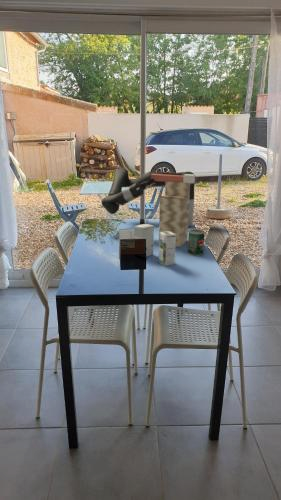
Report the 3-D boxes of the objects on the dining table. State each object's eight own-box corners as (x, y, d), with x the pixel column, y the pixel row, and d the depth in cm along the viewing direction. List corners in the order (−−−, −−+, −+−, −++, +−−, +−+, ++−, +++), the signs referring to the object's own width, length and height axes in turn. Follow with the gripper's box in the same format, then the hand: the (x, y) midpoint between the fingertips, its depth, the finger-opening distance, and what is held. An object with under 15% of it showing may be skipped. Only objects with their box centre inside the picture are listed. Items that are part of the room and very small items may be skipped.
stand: (158, 244, 199) (160, 183, 189) (166, 237, 210) (168, 180, 200) (180, 247, 195) (183, 185, 184) (187, 240, 206) (190, 182, 196)
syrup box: (158, 262, 173) (158, 231, 169) (169, 260, 175) (170, 230, 171) (163, 266, 168) (164, 235, 164) (175, 264, 170) (176, 234, 166)
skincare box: (142, 258, 178) (142, 228, 173) (133, 255, 182) (133, 225, 177) (153, 254, 184) (154, 224, 179) (144, 251, 188) (145, 222, 183)
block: (150, 180, 199) (150, 173, 198) (153, 179, 203) (153, 172, 201) (192, 183, 191) (193, 175, 190) (194, 182, 194) (195, 174, 193)
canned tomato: (204, 255, 182) (205, 234, 179) (187, 255, 183) (189, 233, 179) (202, 250, 190) (204, 229, 186) (187, 250, 190) (188, 229, 187)
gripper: (141, 196, 213) (164, 183, 206) (130, 200, 201) (155, 187, 193) (134, 184, 213) (158, 171, 205) (124, 188, 200) (148, 174, 192)
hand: (156, 178), depth 199 cm, fingers open, 8 cm apart
